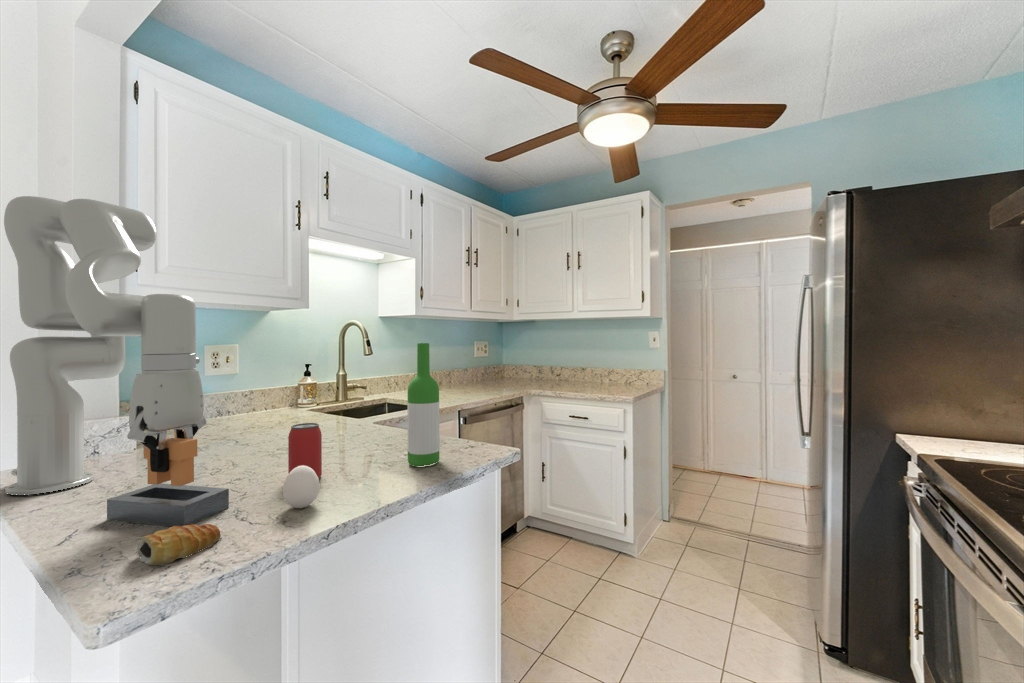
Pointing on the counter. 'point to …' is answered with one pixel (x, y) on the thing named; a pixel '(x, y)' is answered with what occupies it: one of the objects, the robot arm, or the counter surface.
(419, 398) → the wine bottle
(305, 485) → the egg
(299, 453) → the beer can
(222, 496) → the gray rectangular frame
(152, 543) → the pastry
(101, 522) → the counter surface
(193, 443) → the tall orange stepped block
